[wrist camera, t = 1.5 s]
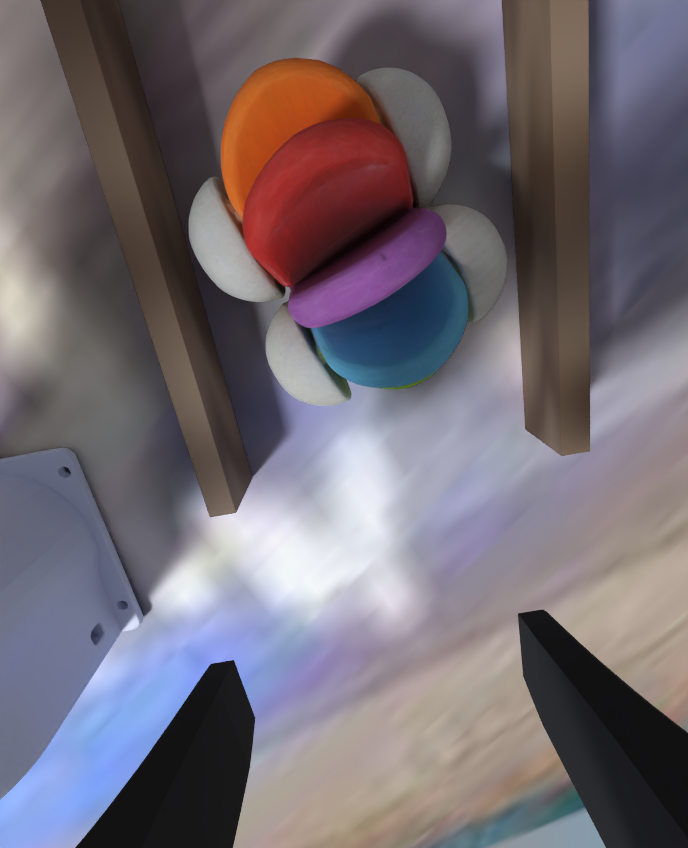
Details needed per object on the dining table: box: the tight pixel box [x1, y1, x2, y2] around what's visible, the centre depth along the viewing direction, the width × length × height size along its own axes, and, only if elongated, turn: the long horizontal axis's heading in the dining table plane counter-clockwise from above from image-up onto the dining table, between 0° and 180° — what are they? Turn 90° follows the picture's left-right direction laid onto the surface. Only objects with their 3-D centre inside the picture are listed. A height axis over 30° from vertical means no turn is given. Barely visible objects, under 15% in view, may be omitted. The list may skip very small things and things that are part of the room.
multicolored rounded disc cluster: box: [189, 58, 508, 406], centre depth 12 cm, size 8×10×7 cm
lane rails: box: [41, 0, 590, 517], centre depth 14 cm, size 17×14×3 cm
